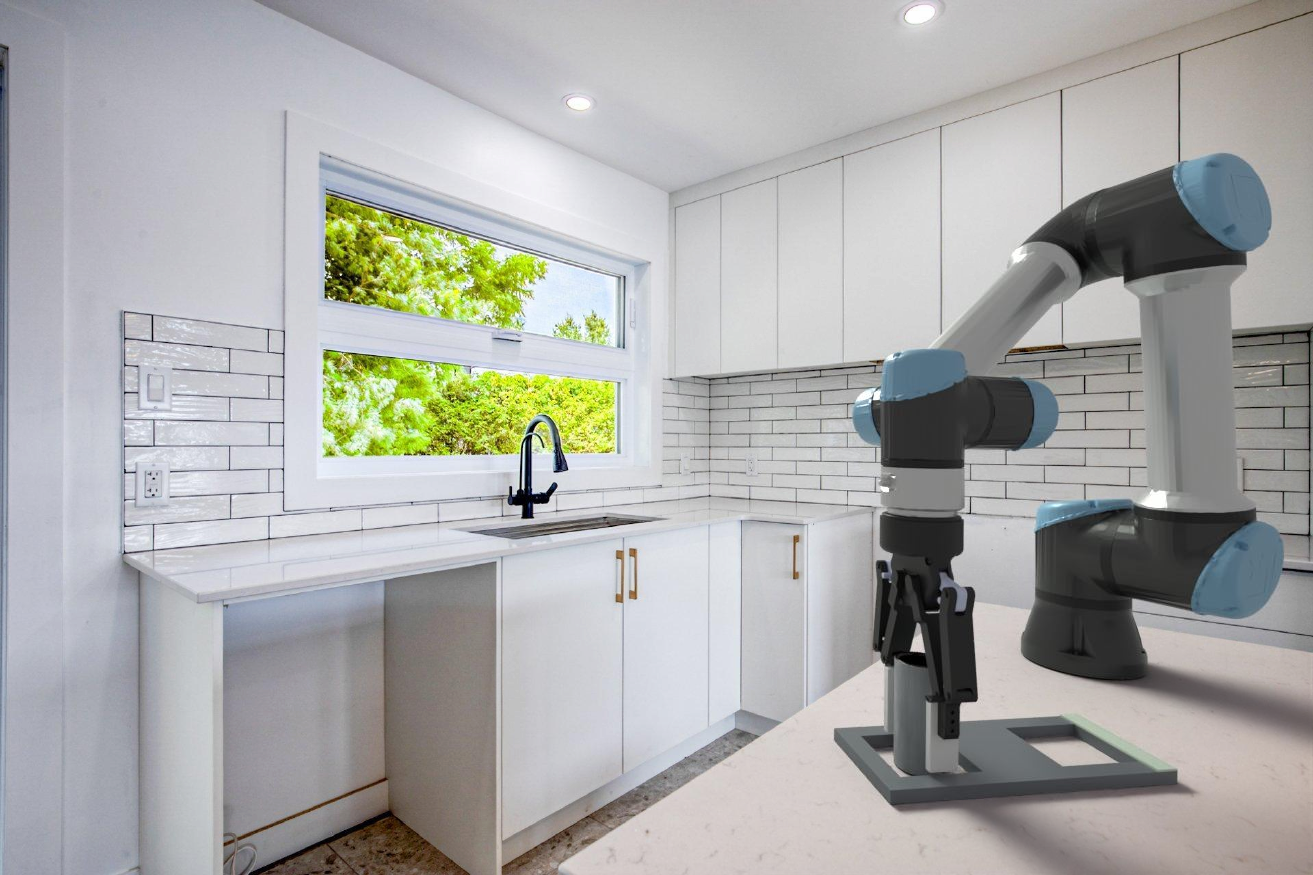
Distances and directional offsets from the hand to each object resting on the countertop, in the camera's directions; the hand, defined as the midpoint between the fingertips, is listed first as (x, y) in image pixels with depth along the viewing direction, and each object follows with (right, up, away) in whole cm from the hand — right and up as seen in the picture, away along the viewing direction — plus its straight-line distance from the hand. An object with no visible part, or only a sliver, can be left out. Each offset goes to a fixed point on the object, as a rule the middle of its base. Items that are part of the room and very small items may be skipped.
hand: (918, 748), depth 63 cm
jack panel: (+8, -2, +1) cm, 8 cm away
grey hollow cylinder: (0, -2, 0) cm, 2 cm away
